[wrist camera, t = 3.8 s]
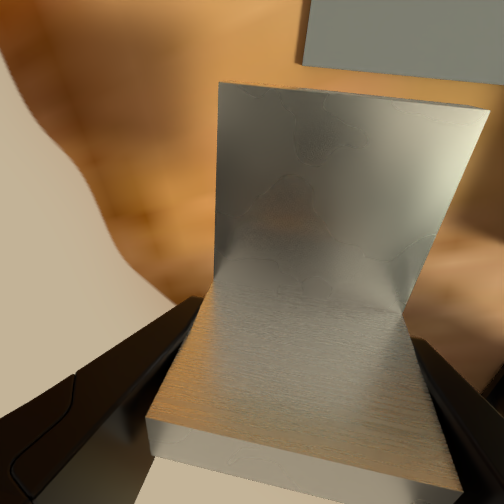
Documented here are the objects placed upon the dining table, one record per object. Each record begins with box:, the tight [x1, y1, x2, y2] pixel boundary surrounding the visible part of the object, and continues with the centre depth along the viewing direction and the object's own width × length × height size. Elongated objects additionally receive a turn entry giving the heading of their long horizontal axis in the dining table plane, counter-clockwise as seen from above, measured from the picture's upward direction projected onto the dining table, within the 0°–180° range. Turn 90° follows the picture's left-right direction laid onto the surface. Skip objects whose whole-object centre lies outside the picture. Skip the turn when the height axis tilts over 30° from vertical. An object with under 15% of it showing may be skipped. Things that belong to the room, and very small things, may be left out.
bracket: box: [145, 81, 490, 504], centre depth 6 cm, size 6×5×5 cm
